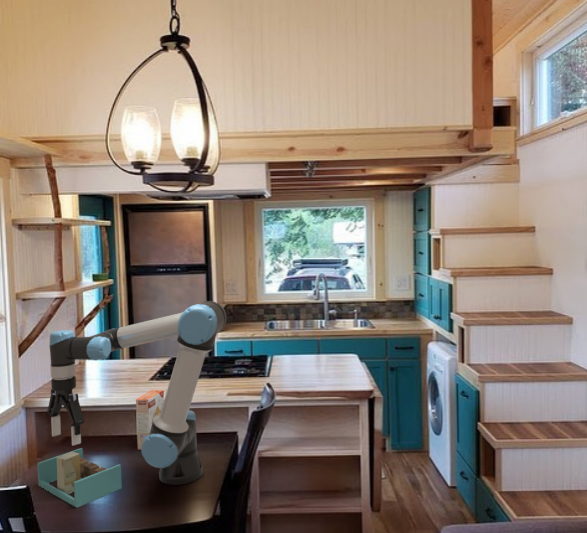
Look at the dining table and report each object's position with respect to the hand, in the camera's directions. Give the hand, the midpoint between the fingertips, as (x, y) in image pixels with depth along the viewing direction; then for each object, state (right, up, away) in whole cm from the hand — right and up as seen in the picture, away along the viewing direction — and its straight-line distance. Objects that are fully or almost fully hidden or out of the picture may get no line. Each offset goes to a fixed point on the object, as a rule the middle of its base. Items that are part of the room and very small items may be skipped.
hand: (66, 439), depth 174 cm
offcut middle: (+6, -17, +7) cm, 19 cm away
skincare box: (+1, -18, +1) cm, 18 cm away
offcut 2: (+11, -17, +2) cm, 21 cm away
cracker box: (+18, -16, +40) cm, 47 cm away
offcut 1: (+1, -17, +11) cm, 21 cm away
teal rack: (+3, -17, +3) cm, 18 cm away
